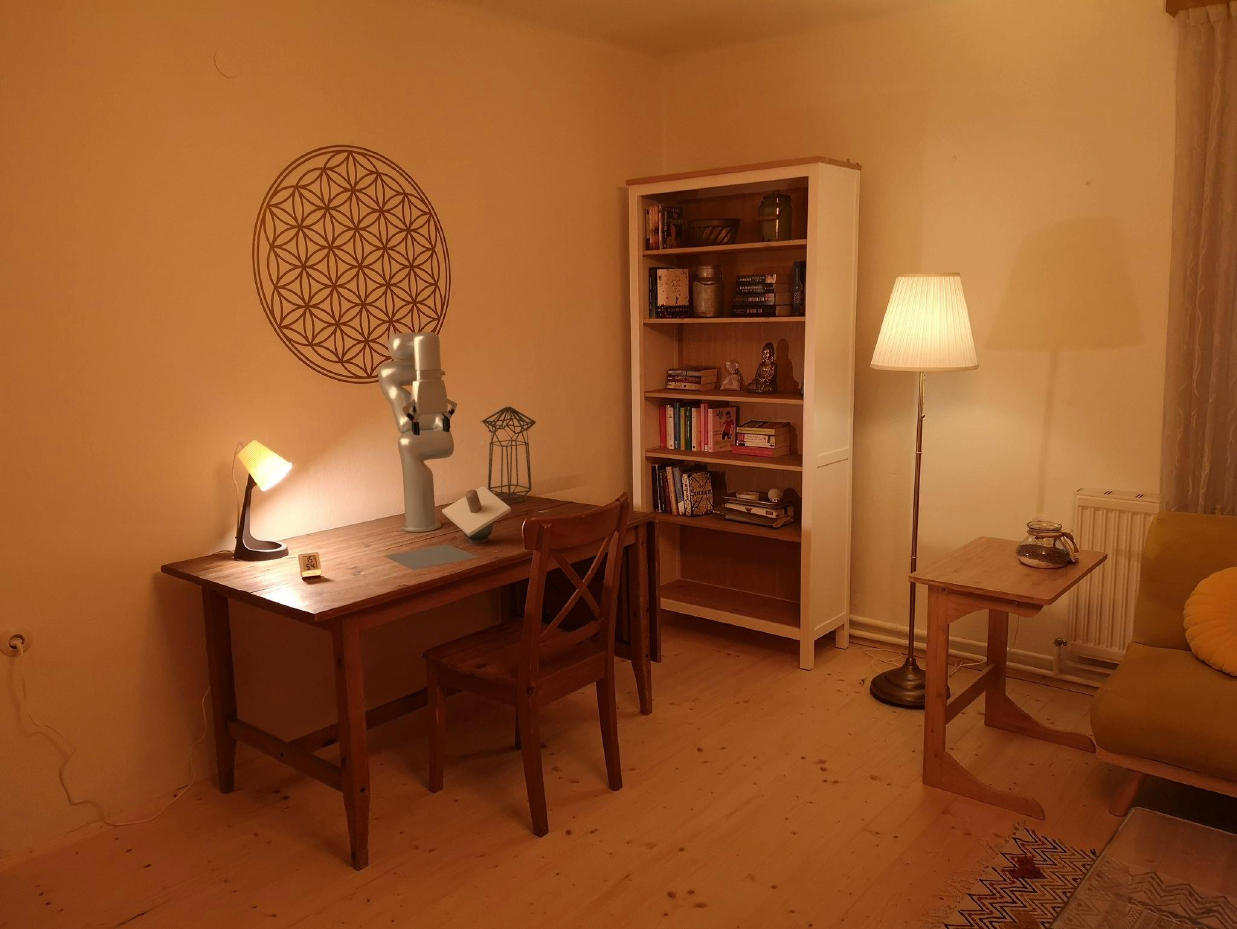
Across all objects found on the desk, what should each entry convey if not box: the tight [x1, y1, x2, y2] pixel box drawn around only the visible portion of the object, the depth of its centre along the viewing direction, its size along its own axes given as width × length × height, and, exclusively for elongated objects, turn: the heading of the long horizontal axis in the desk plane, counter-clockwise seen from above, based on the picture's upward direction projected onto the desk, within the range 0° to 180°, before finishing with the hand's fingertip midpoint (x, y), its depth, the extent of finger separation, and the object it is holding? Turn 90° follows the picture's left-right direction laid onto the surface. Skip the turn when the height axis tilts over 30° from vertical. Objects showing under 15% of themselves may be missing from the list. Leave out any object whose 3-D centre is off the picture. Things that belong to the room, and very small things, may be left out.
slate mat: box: [383, 543, 479, 571], centre depth 271 cm, size 20×20×1 cm
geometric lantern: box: [480, 406, 537, 505], centre depth 347 cm, size 16×16×35 cm
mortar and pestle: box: [462, 522, 494, 544], centre depth 289 cm, size 11×9×12 cm
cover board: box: [441, 485, 512, 536], centre depth 285 cm, size 15×15×7 cm
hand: (431, 433), depth 285 cm, fingers open, 9 cm apart
